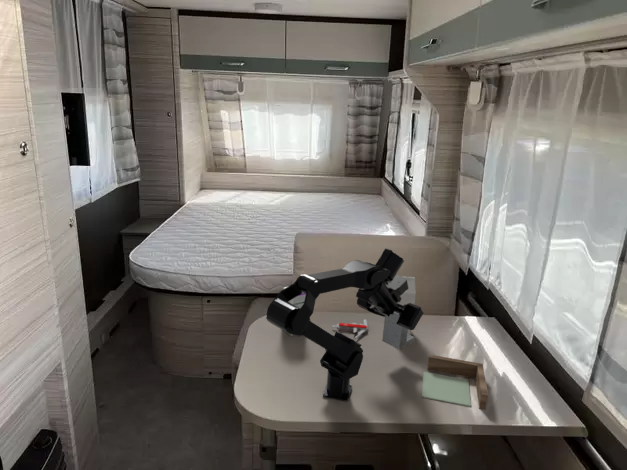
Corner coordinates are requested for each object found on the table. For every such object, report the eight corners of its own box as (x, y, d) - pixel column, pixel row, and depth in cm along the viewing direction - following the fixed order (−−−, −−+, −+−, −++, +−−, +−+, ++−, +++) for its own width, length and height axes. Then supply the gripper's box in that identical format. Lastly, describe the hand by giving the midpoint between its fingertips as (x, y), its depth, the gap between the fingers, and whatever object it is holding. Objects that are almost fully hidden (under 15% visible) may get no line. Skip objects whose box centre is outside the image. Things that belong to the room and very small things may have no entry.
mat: (470, 406, 120) (470, 405, 120) (421, 397, 123) (422, 396, 123) (468, 380, 132) (468, 379, 132) (423, 372, 134) (423, 371, 134)
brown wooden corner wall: (485, 409, 120) (488, 395, 119) (425, 397, 123) (427, 384, 122) (480, 376, 134) (482, 363, 133) (427, 366, 137) (429, 354, 136)
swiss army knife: (331, 339, 150) (331, 333, 150) (332, 319, 163) (333, 313, 163) (367, 342, 150) (368, 337, 149) (366, 322, 163) (367, 316, 162)
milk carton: (410, 336, 154) (417, 281, 149) (388, 335, 154) (394, 280, 149) (406, 326, 161) (413, 273, 156) (385, 325, 161) (391, 271, 156)
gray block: (399, 349, 133) (403, 316, 131) (382, 341, 137) (385, 308, 135) (414, 342, 138) (418, 309, 135) (397, 334, 142) (400, 302, 139)
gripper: (424, 279, 121) (442, 308, 131) (367, 258, 134) (387, 287, 144) (401, 316, 118) (422, 343, 128) (345, 291, 131) (368, 318, 141)
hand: (399, 320), depth 136 cm, fingers closed on gray block, 6 cm apart
